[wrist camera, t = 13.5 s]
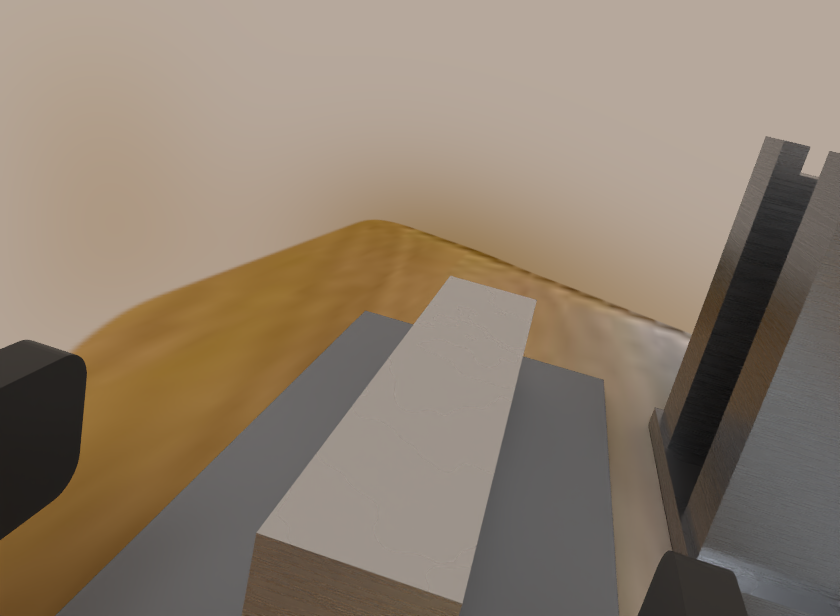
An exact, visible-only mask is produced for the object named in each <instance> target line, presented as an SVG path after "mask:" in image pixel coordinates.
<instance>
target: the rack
mask: <svg viewBox="0 0 840 616" xmlns="http://www.w3.org/2000/svg"><path fill="white" fill-rule="evenodd" d="M809 150H810V147H809V146H805V145H801V144H797V143H792V142H788V141H784V140H779V139H775V138H771V137H765V140H764V143H763V146H762V148H761V151H760V154H759V156H758V159H757V162H756V164H755V167H754V170H753V172H752V175H751V178H750V181H749V183H748V186H747V188H746V191H745V194H744V197H743V199H742V202H741V205H740V207H739V210H738V213H737V215H736V218H735V221H734V224H733V226H732V229H731V232H730V234H729V237H728V240H727V243H726V245H725V248H724V250H723V253H722V256H721V258H720V261H719V264H718V266H717V269H716V272H715V275H714V277H713V280H712V283H711V285H710V288H709V291H708V293H707V296H706V299H705V301H704V304H703V307H702V310H701V312H700V315H699V318H698V320H697V323H696V326H695V328H694V331H693V334H692V336H691V339H690V342H689V345H688V347H687V350H686V353H685V355H684V358H683V361H682V363H681V366H680V369H679V371H678V374H677V377H676V379H675V382H674V385H673V388H672V390H671V393H670V396H669V398H668V401H667V404H666V406H665V409H664V410H662V409H658V408H655V409H654V411H653V414H652V417H651V420H650V422H649V429H650V434H651V440H652V445H653V450H654V455H655V460H656V465H657V471H658V476H659V481H660V486H661V491H662V497H663V502H664V507H665V512H666V517H667V522H668V528H669V533H670V538H671V543H672V548H673V551H674V552H677V553H680V554H683V555H686V556H689V557H692V558H695V559H698V560H701V561H704V562H707V563H710V564H714V565H717V566H720V567H723V568H726V569H729V570H731V571H733V573H734V574H735V576H736V579H737V582H738V585H739V588H740V591H741V595H742V598H743V601H744V604H745V607H746V611H747V614H748V616H840V153H836V152H832V151H830V152H829V154H828V156H827V159H826V161H825V164H824V167H823V169H822V171H821V174H820V176H819V177H816V176H812V175H808V174H804V173H800V172H801V170H802V167H803V165H804V162H805V159H806V157H807V154H808V152H809Z"/></svg>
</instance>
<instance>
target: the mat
mask: <svg viewBox="0 0 840 616" xmlns="http://www.w3.org/2000/svg"><path fill="white" fill-rule="evenodd" d="M412 326H413V324H409V323H406V322H403V321H399V320H396V319H392V318H389V317H385V316H382V315H378V314H375V313H372V312H368V311H365V312H364V313H363V314H362V315H361V316H359V317H358V318H357V319H356V320H355V321H354V322H353V323H352V324H351V325H350V326H349V327H348V328H347V329H346V330H345V331H344V332H343V333H342V334H341V335H340V336H339V337H338V338H337V339H336V340H335V341H334V342H333V343H332V344H331V345H330V346H329V347H328V348H327V349H326V350H325V351H324V352H323V353H322V354H321V355H320V356H319V357H318V358H317V359H316V360H315V361H314V362H313V363H312V364H311V365H310V366H309V367H308V368H307V369H306V370H305V371H304V372H303V373H302V374H300V375H299V376H298V377H297V378H296V379H295V380H294V381H293V382H292V383H291V384H290V385H289V386H288V387H287V388H286V389H285V390H284V391H283V392H282V393H281V394H280V395H279V396H278V397H277V398H276V399H275V400H274V401H273V402H272V403H271V404H270V405H269V406H268V407H267V408H266V409H265V410H264V411H263V412H262V413H261V414H260V415H259V416H258V417H257V418H256V419H255V420H254V421H253V422H252V423H251V424H250V425H249V426H248V427H247V428H246V429H245V430H244V431H243V432H241V433H240V434H239V435H238V436H237V437H236V438H235V439H234V440H233V441H232V442H231V443H230V444H229V445H228V446H227V447H226V448H225V449H224V450H223V451H222V452H221V453H220V454H219V455H218V456H217V457H216V458H215V459H214V460H213V461H212V462H211V463H210V464H209V465H208V466H207V467H206V468H205V469H204V470H203V471H202V472H201V473H200V474H199V475H198V476H197V477H196V478H195V479H194V480H193V481H192V482H191V483H190V484H189V485H188V486H187V487H186V488H185V489H184V490H182V491H181V492H180V493H179V494H178V495H177V496H176V497H175V498H174V499H173V500H172V501H171V502H170V503H169V504H168V505H167V506H166V507H165V508H164V509H163V510H162V511H161V512H160V513H159V514H158V515H157V516H156V517H155V518H154V519H153V520H152V521H151V522H150V523H149V524H148V525H147V526H146V527H145V528H144V529H143V530H142V531H141V532H140V533H139V534H138V535H137V536H136V537H135V538H134V539H133V540H132V541H131V542H130V543H129V544H128V545H127V546H126V547H125V548H124V549H122V550H121V551H120V552H119V553H118V554H117V555H116V556H115V557H114V558H113V559H112V560H111V561H110V562H109V563H108V564H107V565H106V566H105V567H104V568H103V569H102V570H101V571H100V572H99V573H98V574H97V575H96V576H95V577H94V578H93V579H92V580H91V581H90V582H89V583H88V584H87V585H86V586H85V587H84V588H83V589H82V590H81V591H80V592H79V593H78V594H77V595H76V596H75V597H74V598H73V599H72V600H71V601H70V602H69V603H68V604H67V605H66V606H65V607H63V608H62V609H61V610H60V611H59V612H58V613H57V614H56V615H55V616H242V611H243V605H244V600H245V594H246V588H247V583H248V577H249V571H250V566H251V560H252V555H253V549H254V543H255V538H256V533H257V531H258V530H259V529H260V527H261V526H262V525H263V523H264V522H265V521H266V519H267V518H268V517H269V515H270V514H271V513H272V511H273V510H274V509H275V507H276V506H277V505H278V503H279V502H280V501H281V500H282V498H283V497H284V496H285V494H286V493H287V492H288V490H289V489H290V488H291V486H292V485H293V484H294V482H295V481H296V480H297V478H298V477H299V476H300V474H301V473H302V472H303V470H304V469H305V468H306V466H307V465H308V464H309V462H310V461H311V460H312V458H313V457H314V456H315V454H316V453H317V452H318V451H319V449H320V448H321V447H322V445H323V444H324V443H325V441H326V440H327V439H328V437H329V436H330V435H331V433H332V432H333V431H334V429H335V428H336V427H337V425H338V424H339V423H340V421H341V420H342V419H343V417H344V416H345V415H346V413H347V412H348V411H349V409H350V408H351V407H352V406H353V404H354V403H355V402H356V400H357V399H358V398H359V396H360V395H361V394H362V392H363V391H364V390H365V388H366V387H367V386H368V384H369V383H370V382H371V380H372V379H373V378H374V376H375V375H376V374H377V372H378V371H379V370H380V368H381V367H382V366H383V364H384V363H385V362H386V361H387V359H388V358H389V357H390V355H391V354H392V353H393V351H394V350H395V349H396V347H397V346H398V345H399V343H400V342H401V341H402V339H403V338H404V337H405V335H406V334H407V333H408V331H409V330H410V329H411V327H412ZM459 616H619V609H618V593H617V578H616V563H615V547H614V532H613V517H612V501H611V486H610V471H609V455H608V440H607V425H606V410H605V394H604V380H602V379H599V378H595V377H592V376H589V375H585V374H582V373H578V372H575V371H571V370H568V369H564V368H561V367H558V366H554V365H551V364H547V363H544V362H540V361H537V360H533V359H530V358H527V357H523V358H522V362H521V366H520V370H519V374H518V378H517V383H516V387H515V391H514V395H513V399H512V403H511V407H510V411H509V415H508V419H507V423H506V427H505V432H504V436H503V440H502V444H501V448H500V452H499V456H498V460H497V464H496V468H495V472H494V476H493V481H492V485H491V489H490V493H489V497H488V501H487V505H486V509H485V513H484V517H483V521H482V525H481V530H480V534H479V538H478V542H477V546H476V550H475V554H474V558H473V562H472V566H471V570H470V574H469V579H468V583H467V587H466V591H465V595H464V599H463V603H462V606H461V610H460V613H459Z"/></svg>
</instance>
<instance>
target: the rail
mask: <svg viewBox="0 0 840 616" xmlns="http://www.w3.org/2000/svg"><path fill="white" fill-rule="evenodd" d="M536 301H537V300H535V299H531V298H528V297H524V296H521V295H517V294H513V293H510V292H506V291H503V290H499V289H496V288H492V287H488V286H485V285H481V284H478V283H474V282H471V281H467V280H463V279H460V278H456V277H453V276H450V277H449V278H448V280H447V281H446V282H445V284H444V285H443V286H442V288H441V289H440V290H439V292H438V293H437V294H436V296H435V297H434V298H433V300H432V301H431V302H430V304H429V305H428V306H427V308H426V309H425V310H424V312H423V313H422V314H421V316H420V317H419V318H418V319H417V321H416V322H415V323H414V325H413V326H412V327H411V329H410V330H409V331H408V333H407V334H406V335H405V337H404V338H403V339H402V341H401V342H400V343H399V345H398V346H397V347H396V349H395V350H394V351H393V353H392V354H391V355H390V357H389V358H388V359H387V361H386V362H385V363H384V364H383V366H382V367H381V368H380V370H379V371H378V372H377V374H376V375H375V376H374V378H373V379H372V380H371V382H370V383H369V384H368V386H367V387H366V388H365V390H364V391H363V392H362V394H361V395H360V396H359V398H358V399H357V400H356V402H355V403H354V404H353V406H352V407H351V408H350V409H349V411H348V412H347V413H346V415H345V416H344V417H343V419H342V420H341V421H340V423H339V424H338V425H337V427H336V428H335V429H334V431H333V432H332V433H331V435H330V436H329V437H328V439H327V440H326V441H325V443H324V444H323V445H322V447H321V448H320V449H319V451H318V452H317V453H316V454H315V456H314V457H313V458H312V460H311V461H310V462H309V464H308V465H307V466H306V468H305V469H304V470H303V472H302V473H301V474H300V476H299V477H298V478H297V480H296V481H295V482H294V484H293V485H292V486H291V488H290V489H289V490H288V492H287V493H286V494H285V496H284V497H283V498H282V500H281V501H280V502H279V503H278V505H277V506H276V507H275V509H274V510H273V511H272V513H271V514H270V515H269V517H268V518H267V519H266V521H265V522H264V523H263V525H262V526H261V527H260V529H259V530H258V531H257V533H256V538H255V543H254V549H253V555H252V560H251V566H250V571H249V577H248V583H247V588H246V594H245V600H244V605H243V611H242V616H459V613H460V610H461V606H462V603H463V599H464V595H465V591H466V587H467V583H468V579H469V574H470V570H471V566H472V562H473V558H474V554H475V550H476V546H477V542H478V538H479V534H480V530H481V525H482V521H483V517H484V513H485V509H486V505H487V501H488V497H489V493H490V489H491V485H492V481H493V476H494V472H495V468H496V464H497V460H498V456H499V452H500V448H501V444H502V440H503V436H504V432H505V427H506V423H507V419H508V415H509V411H510V407H511V403H512V399H513V395H514V391H515V387H516V383H517V378H518V374H519V370H520V366H521V362H522V358H523V354H524V350H525V346H526V342H527V338H528V334H529V329H530V325H531V321H532V317H533V313H534V309H535V305H536Z"/></svg>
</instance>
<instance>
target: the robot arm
mask: <svg viewBox="0 0 840 616" xmlns="http://www.w3.org/2000/svg"><path fill="white" fill-rule="evenodd" d="M86 378H87V371H86V365H85V362H84V361H83V359H82V358H81V357H79V356H78V355H75V354H72V353H69V352H66V351H62V350H59V349H56V348H53V347H50V346H47V345H44V344H41V343H37V342H35V341H31V340H22V341H19V342H17V343H14V344H12V345H9V346H7V347H5V348H2V349H0V540H1V539H2V538H4V537H5V536H6V535H8V534H9V533H10V532H12V531H13V530H14V529H16V528H17V527H18V526H20V525H21V524H22V523H24V522H25V521H26V520H28V519H29V518H31V517H32V516H33V515H35V514H36V513H37V512H39V511H40V510H41V509H43V508H44V507H45V506H47V505H48V504H49V503H51V502H52V501H53V500H54V499H56V498H57V497H58V496H59V495H60V494H61V493H62V492H63V490H64V489H65V488H66V486H67V485H68V483H69V482H70V480H71V478H72V476H73V474H74V472H75V469H76V467H77V464H78V460H79V454H80V444H81V433H82V422H83V411H84V400H85V389H86ZM638 616H748V614H747V611H746V607H745V604H744V601H743V598H742V595H741V591H740V588H739V585H738V582H737V579H736V576H735V574H734V573H733V571H731V570H729V569H726V568H723V567H720V566H717V565H714V564H710V563H707V562H704V561H701V560H698V559H695V558H692V557H689V556H686V555H683V554H680V553H677V552H674V551H668V552H666V553H665V554H664V556H663V557H662V559H661V561H660V562H659V565H658V567H657V569H656V572H655V574H654V577H653V579H652V582H651V584H650V587H649V589H648V592H647V594H646V597H645V599H644V602H643V604H642V607H641V609H640V612H639V614H638Z"/></svg>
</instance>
